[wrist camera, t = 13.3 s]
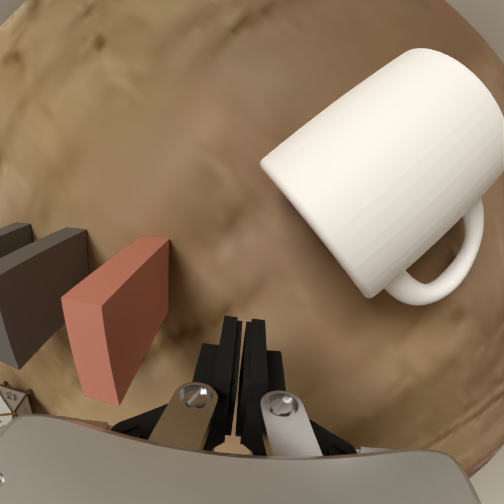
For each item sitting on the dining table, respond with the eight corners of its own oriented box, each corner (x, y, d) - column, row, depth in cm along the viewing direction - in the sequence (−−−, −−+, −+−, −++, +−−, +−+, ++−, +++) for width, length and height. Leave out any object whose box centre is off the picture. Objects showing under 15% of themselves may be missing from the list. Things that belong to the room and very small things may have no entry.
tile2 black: (91, 297, 19) (19, 370, 10) (72, 293, 19) (-2, 359, 10) (86, 229, 18) (-7, 278, 9) (66, 227, 17) (-27, 272, 9)
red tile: (168, 311, 19) (119, 406, 11) (143, 307, 19) (84, 395, 10) (169, 238, 18) (101, 306, 9) (142, 235, 18) (60, 297, 9)
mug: (256, 163, 16) (258, 163, 9) (379, 69, 14) (449, 25, 7) (370, 306, 19) (422, 379, 11) (469, 217, 17) (547, 248, 9)
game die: (48, 380, 27) (63, 452, 20) (17, 407, 25) (28, 473, 18) (-9, 345, 20) (-9, 426, 14) (-36, 378, 19) (-35, 450, 12)
